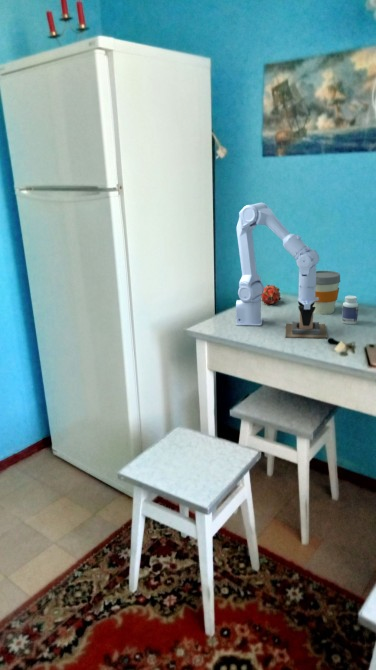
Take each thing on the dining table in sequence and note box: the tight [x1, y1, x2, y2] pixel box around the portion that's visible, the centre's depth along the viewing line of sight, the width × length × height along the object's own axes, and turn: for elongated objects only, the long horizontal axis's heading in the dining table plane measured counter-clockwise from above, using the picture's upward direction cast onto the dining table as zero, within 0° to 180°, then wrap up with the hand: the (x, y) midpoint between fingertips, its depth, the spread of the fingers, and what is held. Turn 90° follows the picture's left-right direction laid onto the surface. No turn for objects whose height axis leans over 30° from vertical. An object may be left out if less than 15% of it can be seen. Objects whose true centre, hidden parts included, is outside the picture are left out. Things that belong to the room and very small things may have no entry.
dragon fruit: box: [261, 284, 282, 306], centre depth 206 cm, size 8×8×12 cm
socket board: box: [284, 321, 328, 340], centre depth 172 cm, size 14×14×2 cm
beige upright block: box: [299, 312, 314, 329], centre depth 171 cm, size 4×4×7 cm
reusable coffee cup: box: [313, 270, 341, 315], centre depth 191 cm, size 13×13×15 cm
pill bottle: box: [341, 295, 359, 325], centre depth 177 cm, size 5×5×10 cm
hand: (306, 323), depth 171 cm, fingers closed on beige upright block, 4 cm apart
